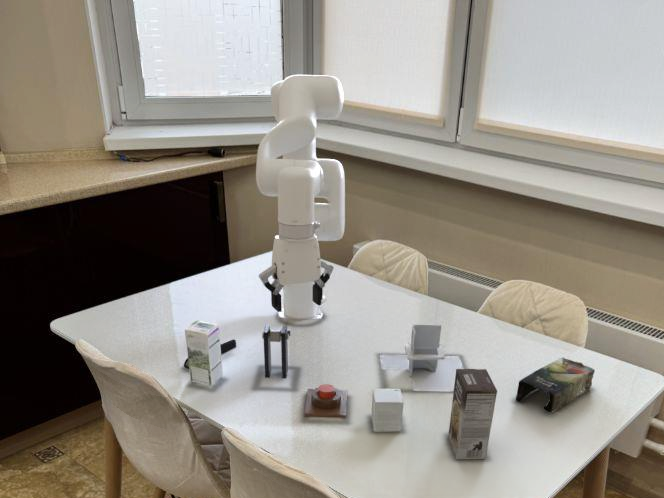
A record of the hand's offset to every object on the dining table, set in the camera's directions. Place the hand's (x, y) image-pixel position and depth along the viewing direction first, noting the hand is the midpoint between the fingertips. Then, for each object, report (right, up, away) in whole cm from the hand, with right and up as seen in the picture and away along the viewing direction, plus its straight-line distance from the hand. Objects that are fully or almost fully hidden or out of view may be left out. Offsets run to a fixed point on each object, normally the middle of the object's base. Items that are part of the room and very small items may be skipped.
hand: (297, 306), depth 155 cm
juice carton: (+60, -20, +9) cm, 64 cm away
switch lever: (-6, -6, +9) cm, 13 cm away
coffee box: (+36, -31, -11) cm, 49 cm away
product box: (+20, -27, -5) cm, 34 cm away
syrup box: (-22, -17, +7) cm, 28 cm away
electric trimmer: (-23, -10, +18) cm, 31 cm away
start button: (+7, -20, -3) cm, 21 cm away
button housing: (+6, -23, -1) cm, 24 cm away
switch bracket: (-6, -15, +11) cm, 19 cm away
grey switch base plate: (+30, -14, +16) cm, 36 cm away
